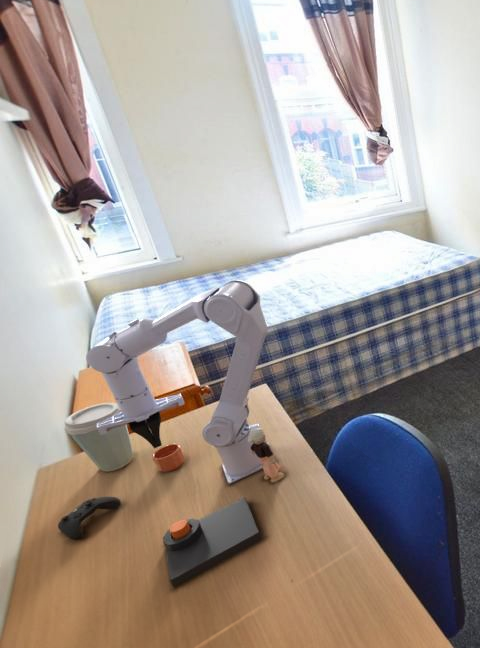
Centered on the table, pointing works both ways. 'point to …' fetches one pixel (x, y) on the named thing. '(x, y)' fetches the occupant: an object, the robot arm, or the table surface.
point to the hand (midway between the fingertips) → (157, 444)
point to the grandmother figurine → (264, 455)
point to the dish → (168, 457)
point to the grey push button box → (210, 541)
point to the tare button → (179, 529)
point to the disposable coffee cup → (100, 436)
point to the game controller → (84, 515)
